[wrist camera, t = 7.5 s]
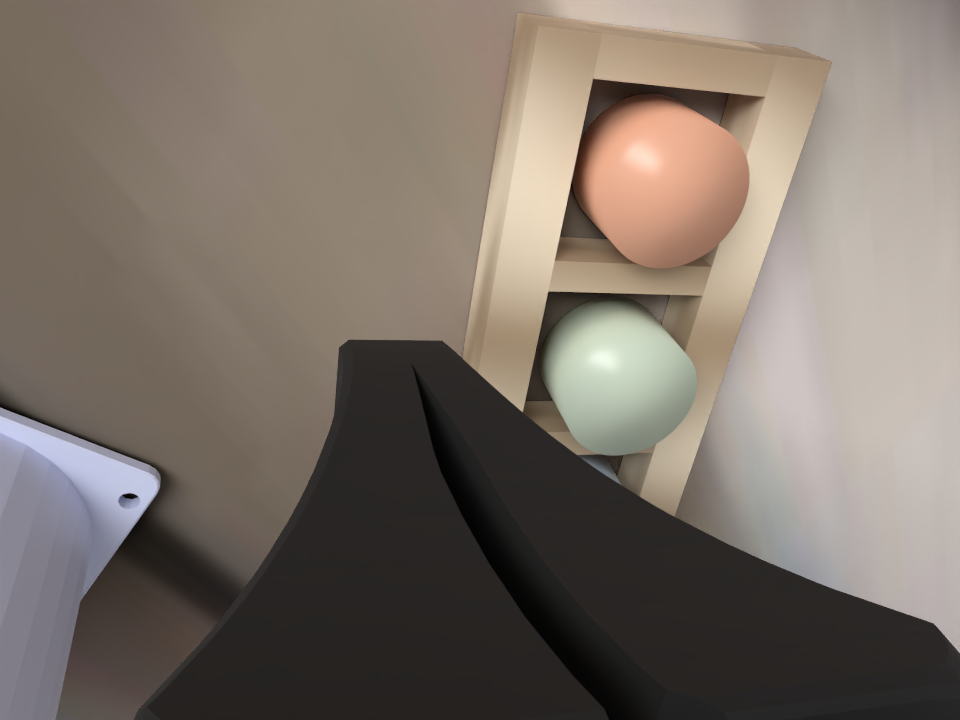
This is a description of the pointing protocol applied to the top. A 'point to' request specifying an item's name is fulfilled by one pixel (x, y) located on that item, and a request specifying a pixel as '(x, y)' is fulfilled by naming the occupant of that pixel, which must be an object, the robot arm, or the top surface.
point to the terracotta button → (660, 180)
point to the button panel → (597, 262)
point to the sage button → (617, 376)
